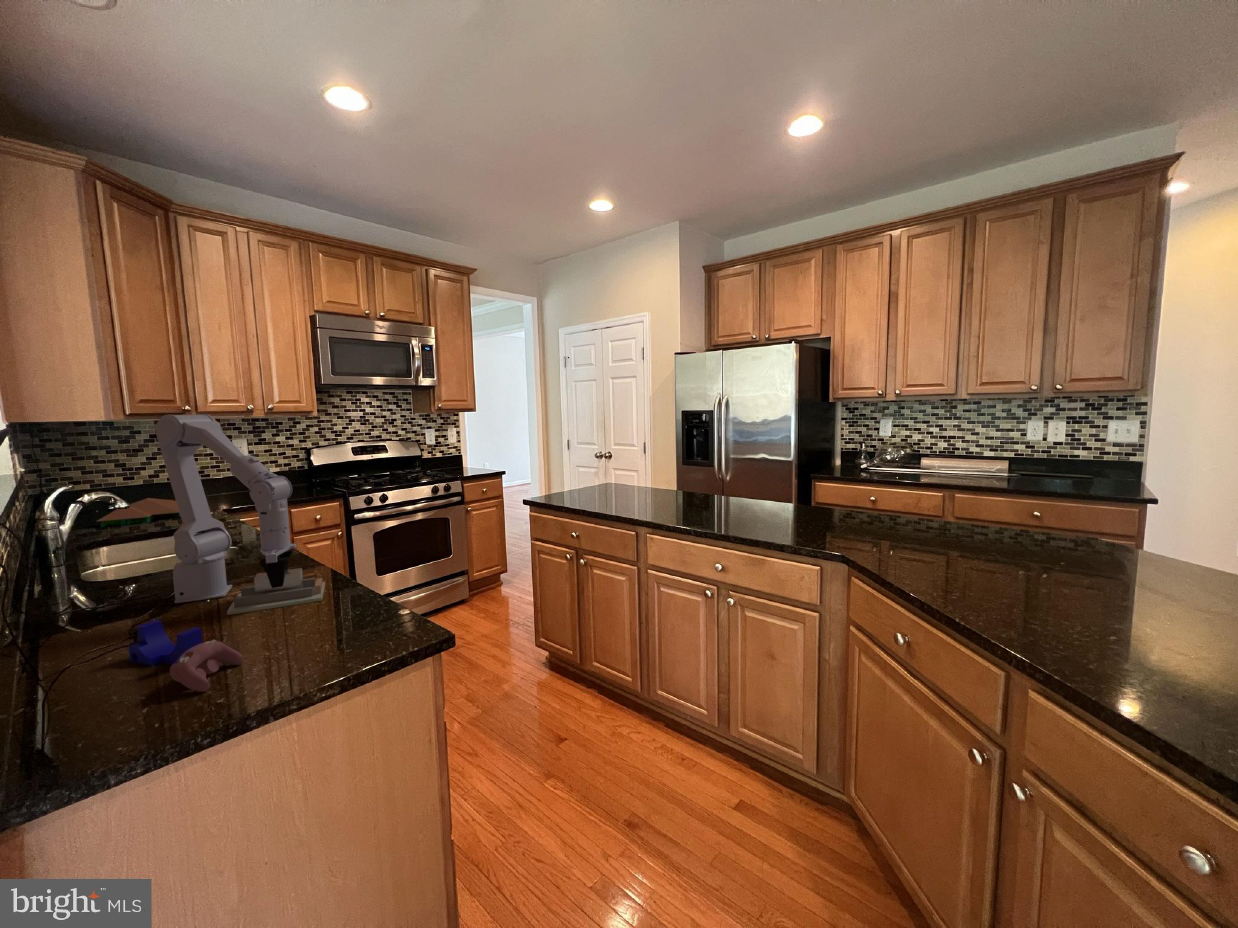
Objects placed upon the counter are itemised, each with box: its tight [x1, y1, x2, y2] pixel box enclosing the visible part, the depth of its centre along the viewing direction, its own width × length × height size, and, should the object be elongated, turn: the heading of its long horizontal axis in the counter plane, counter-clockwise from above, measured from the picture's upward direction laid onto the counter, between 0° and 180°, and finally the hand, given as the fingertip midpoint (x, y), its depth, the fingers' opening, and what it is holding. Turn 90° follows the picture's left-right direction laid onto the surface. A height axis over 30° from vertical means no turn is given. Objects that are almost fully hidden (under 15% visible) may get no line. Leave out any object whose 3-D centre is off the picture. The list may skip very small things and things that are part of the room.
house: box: [96, 497, 181, 529], centre depth 205 cm, size 23×33×8 cm
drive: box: [253, 567, 304, 595], centre depth 118 cm, size 9×4×5 cm, turn 117°
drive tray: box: [226, 577, 326, 616], centre depth 118 cm, size 18×12×3 cm, turn 117°
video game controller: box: [169, 639, 244, 693], centre depth 83 cm, size 10×5×7 cm, turn 6°
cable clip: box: [128, 619, 204, 667], centre depth 89 cm, size 12×4×6 cm, turn 73°
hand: (278, 583), depth 118 cm, fingers closed on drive, 4 cm apart
